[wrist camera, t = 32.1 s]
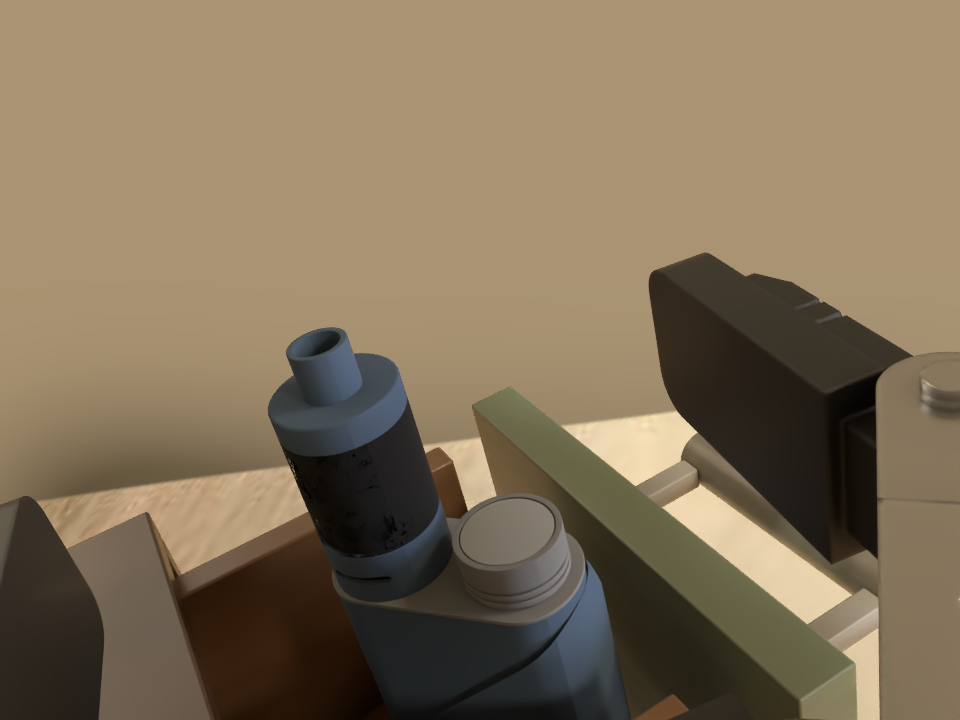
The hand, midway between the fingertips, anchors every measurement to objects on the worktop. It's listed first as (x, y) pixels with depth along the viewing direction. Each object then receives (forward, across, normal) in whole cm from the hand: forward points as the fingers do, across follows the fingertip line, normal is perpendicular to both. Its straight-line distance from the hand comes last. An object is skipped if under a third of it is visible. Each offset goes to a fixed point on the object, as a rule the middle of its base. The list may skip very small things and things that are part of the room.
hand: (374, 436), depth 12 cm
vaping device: (+3, -1, +13) cm, 13 cm away
